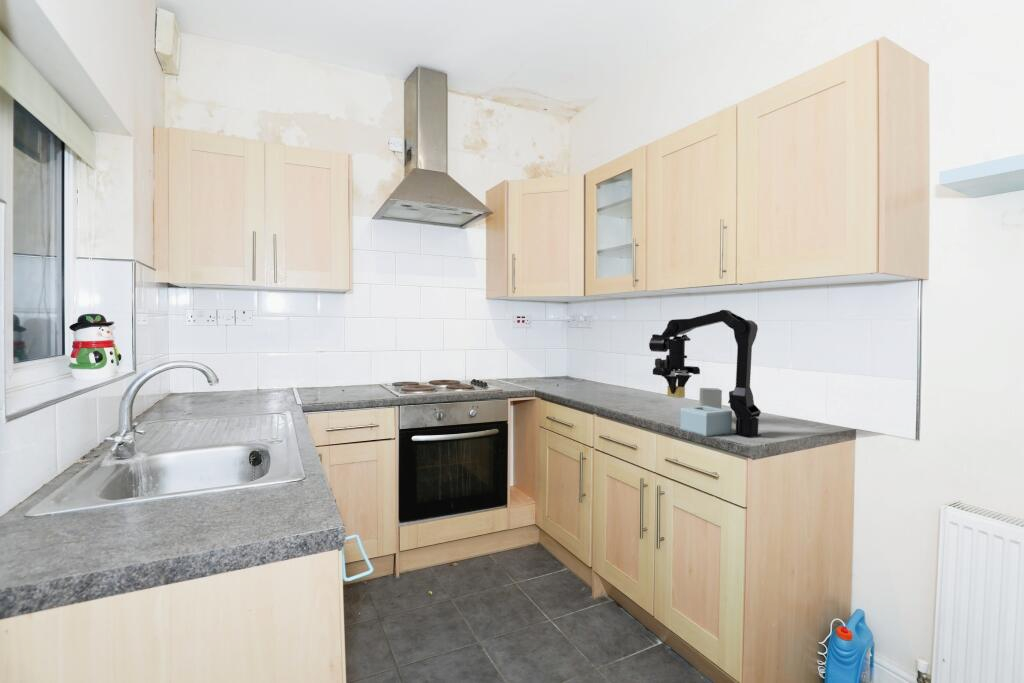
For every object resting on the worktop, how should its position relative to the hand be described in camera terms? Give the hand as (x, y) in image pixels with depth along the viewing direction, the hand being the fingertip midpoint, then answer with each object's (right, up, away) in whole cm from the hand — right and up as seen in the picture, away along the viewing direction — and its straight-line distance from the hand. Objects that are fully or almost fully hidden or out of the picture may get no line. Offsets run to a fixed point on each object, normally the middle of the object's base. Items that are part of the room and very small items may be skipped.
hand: (676, 393), depth 194 cm
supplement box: (+17, -12, +9) cm, 22 cm away
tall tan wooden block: (0, -1, 0) cm, 1 cm away
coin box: (+6, -12, -13) cm, 19 cm away
